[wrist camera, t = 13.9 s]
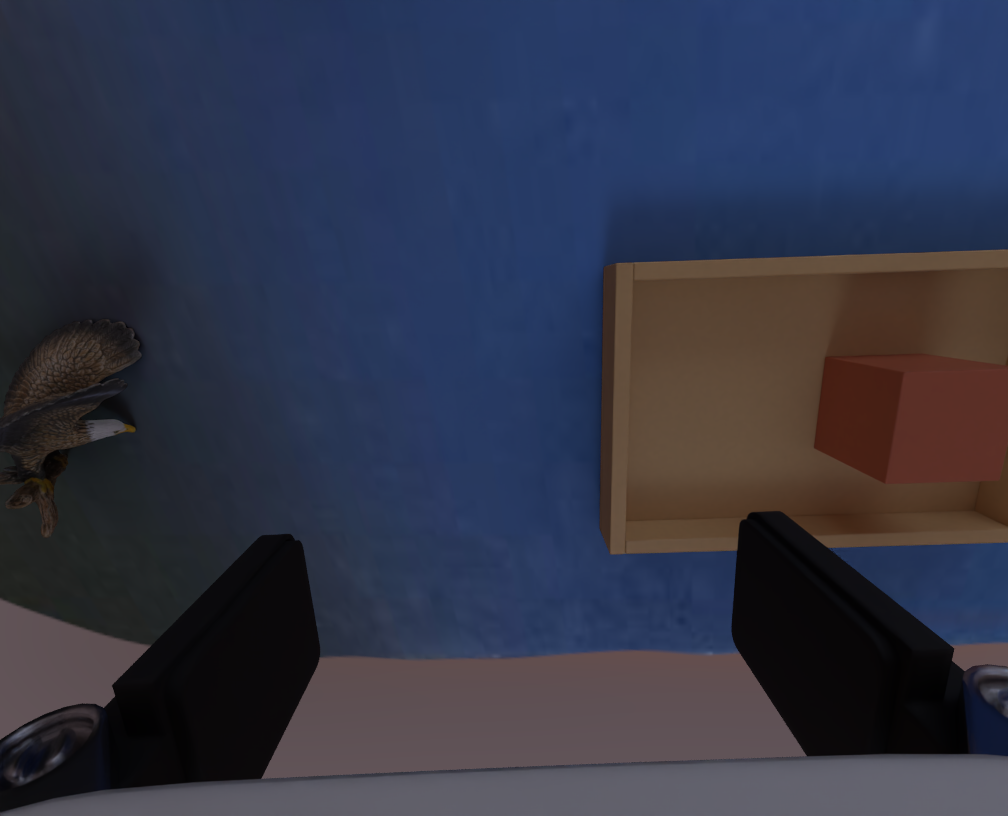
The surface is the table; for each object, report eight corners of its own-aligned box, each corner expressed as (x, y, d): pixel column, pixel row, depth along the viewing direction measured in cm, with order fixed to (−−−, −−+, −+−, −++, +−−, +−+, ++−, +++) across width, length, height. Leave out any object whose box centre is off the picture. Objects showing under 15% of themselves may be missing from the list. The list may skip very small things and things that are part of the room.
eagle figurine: (146, 517, 26) (181, 385, 23) (-53, 561, 20) (-46, 390, 17) (99, 430, 29) (124, 302, 26) (-84, 446, 23) (-85, 282, 20)
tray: (599, 529, 27) (609, 554, 25) (603, 266, 24) (616, 263, 21) (974, 517, 27) (1027, 542, 24) (1033, 251, 24) (1101, 246, 21)
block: (813, 448, 26) (885, 484, 21) (824, 356, 24) (904, 372, 20) (905, 445, 26) (1000, 481, 21) (921, 353, 24) (1026, 368, 20)
